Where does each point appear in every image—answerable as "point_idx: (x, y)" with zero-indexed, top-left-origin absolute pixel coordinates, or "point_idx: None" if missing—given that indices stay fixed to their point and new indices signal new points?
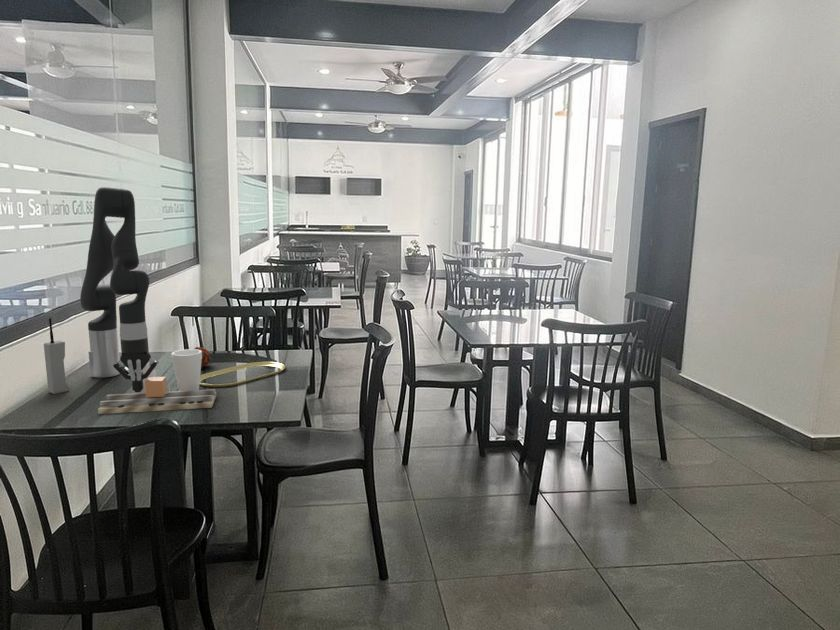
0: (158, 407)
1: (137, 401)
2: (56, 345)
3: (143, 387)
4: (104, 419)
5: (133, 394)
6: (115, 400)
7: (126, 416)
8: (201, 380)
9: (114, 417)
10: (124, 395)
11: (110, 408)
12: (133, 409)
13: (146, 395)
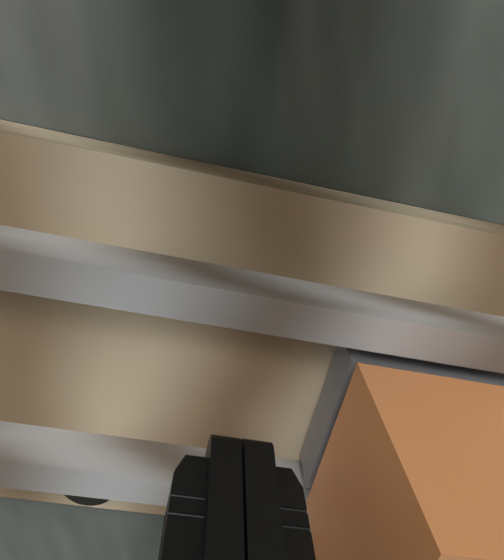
0: None
1: None
2: None
3: (302, 488)
4: (19, 555)
5: (167, 316)
6: (9, 469)
7: (158, 544)
8: None
9: (79, 540)
10: (59, 295)
11: (8, 497)
12: None
13: (315, 521)
